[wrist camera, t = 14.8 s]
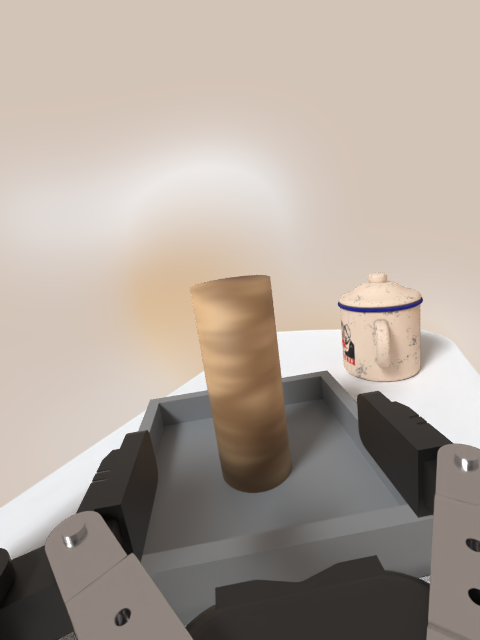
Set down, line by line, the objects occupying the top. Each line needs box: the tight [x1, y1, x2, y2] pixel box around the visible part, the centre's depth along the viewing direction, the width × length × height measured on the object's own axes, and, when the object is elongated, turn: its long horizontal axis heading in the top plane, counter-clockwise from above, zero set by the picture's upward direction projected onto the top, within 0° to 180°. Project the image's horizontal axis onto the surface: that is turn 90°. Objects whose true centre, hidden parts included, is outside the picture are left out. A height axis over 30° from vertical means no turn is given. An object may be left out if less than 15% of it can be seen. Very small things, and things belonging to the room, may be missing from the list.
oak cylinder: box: [190, 275, 291, 493], centre depth 23 cm, size 5×5×14 cm
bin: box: [138, 371, 434, 626], centre depth 24 cm, size 18×18×4 cm
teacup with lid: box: [338, 273, 423, 381], centre depth 37 cm, size 12×9×12 cm
